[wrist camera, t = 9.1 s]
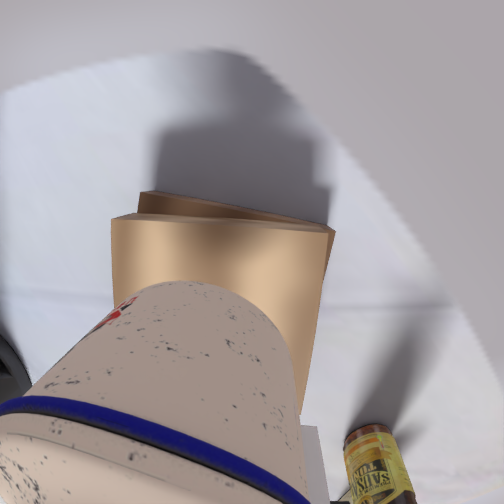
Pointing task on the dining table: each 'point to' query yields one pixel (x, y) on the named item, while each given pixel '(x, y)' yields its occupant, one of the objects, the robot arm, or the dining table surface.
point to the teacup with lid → (161, 409)
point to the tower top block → (230, 268)
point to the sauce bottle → (376, 468)
